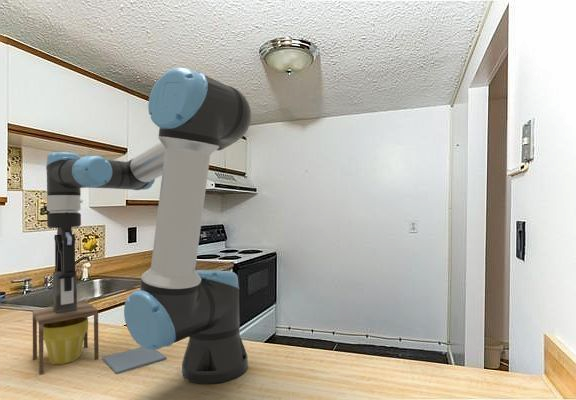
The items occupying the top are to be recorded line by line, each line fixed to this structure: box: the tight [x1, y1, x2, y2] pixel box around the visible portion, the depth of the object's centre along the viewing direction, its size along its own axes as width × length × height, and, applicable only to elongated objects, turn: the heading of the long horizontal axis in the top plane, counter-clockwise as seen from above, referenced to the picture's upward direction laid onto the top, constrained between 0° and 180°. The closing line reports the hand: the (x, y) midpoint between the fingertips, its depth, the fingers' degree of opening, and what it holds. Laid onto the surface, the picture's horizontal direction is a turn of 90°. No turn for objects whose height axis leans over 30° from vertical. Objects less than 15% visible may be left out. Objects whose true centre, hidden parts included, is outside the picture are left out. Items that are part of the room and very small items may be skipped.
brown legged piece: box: [32, 270, 100, 376], centre depth 94 cm, size 13×13×22 cm
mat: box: [101, 346, 168, 375], centre depth 92 cm, size 12×12×1 cm
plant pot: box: [43, 316, 89, 365], centre depth 94 cm, size 10×10×10 cm
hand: (65, 301), depth 94 cm, fingers open, 5 cm apart
